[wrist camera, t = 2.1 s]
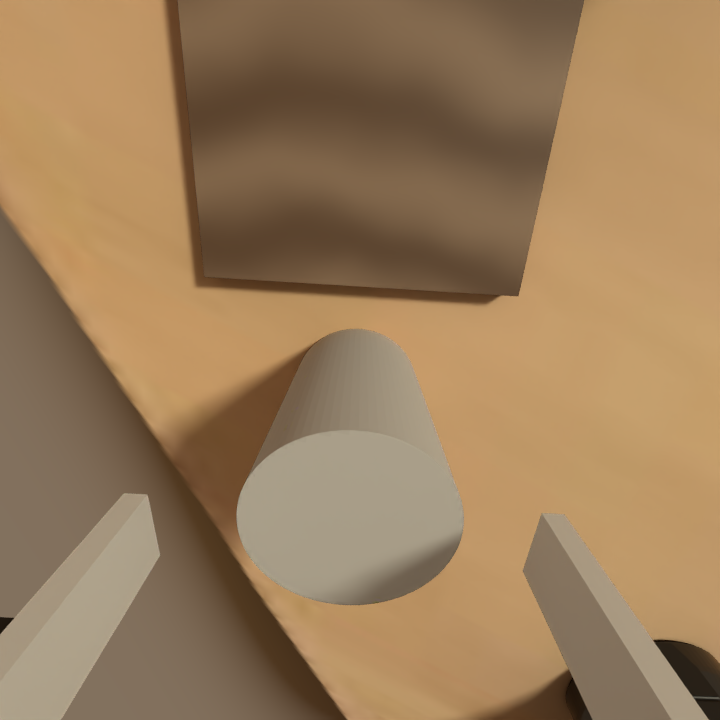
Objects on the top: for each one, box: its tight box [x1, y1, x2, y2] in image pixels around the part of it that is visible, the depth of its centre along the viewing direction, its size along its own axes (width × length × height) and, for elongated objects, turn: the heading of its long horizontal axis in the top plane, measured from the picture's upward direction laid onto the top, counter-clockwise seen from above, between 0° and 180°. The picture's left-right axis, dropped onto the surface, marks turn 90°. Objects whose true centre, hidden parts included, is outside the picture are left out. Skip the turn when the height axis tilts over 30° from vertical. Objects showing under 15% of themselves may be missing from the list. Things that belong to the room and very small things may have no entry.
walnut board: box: [177, 0, 584, 296], centre depth 18 cm, size 16×18×2 cm
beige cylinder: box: [237, 329, 464, 605], centre depth 18 cm, size 8×8×12 cm
